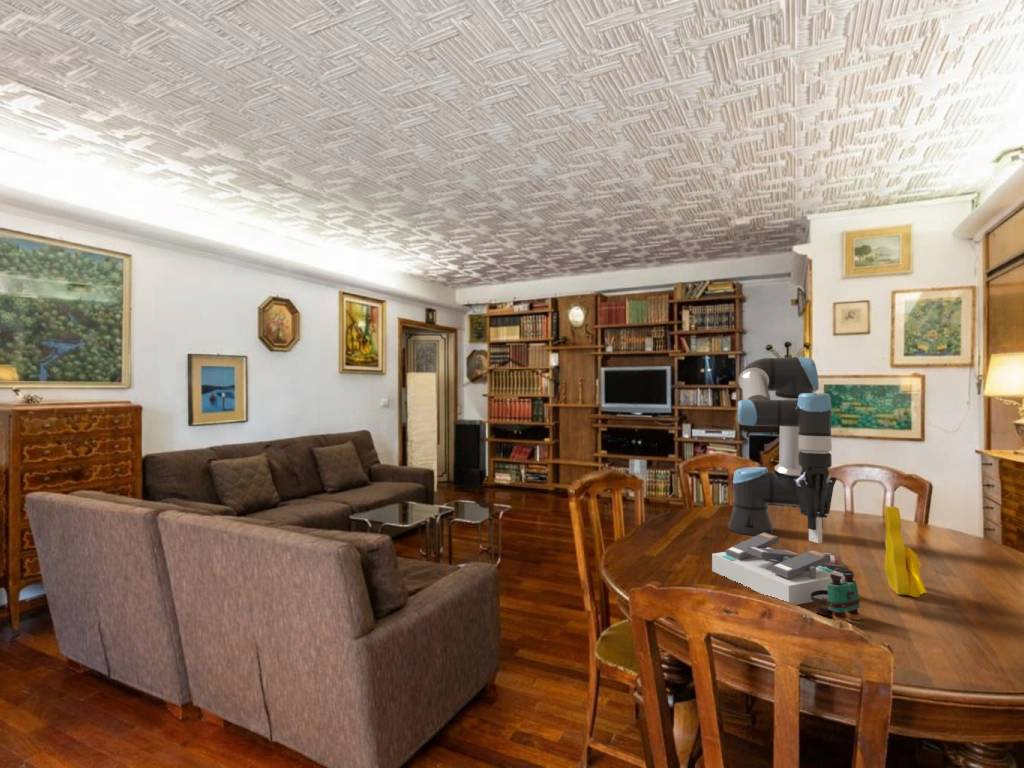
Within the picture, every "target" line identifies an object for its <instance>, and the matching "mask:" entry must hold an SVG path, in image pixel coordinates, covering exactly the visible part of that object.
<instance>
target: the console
mask: <svg viewBox="0 0 1024 768" xmlns="http://www.w3.org/2000/svg"><path fill="white" fill-rule="evenodd" d="M744 541H745V540H743V541H740V543H741V542H744ZM766 549H772V548H771V547H767V548H766ZM711 558H712V559H711V571H712V572H714V573H716V574H718V575H720V576H722V577H724V576H725V577H724V578H726V577H727V579H729V580H731V581H733V582H735V581H736V583H737V582H738V584H739V583H741V584H743V585H742V586H744V587H746V586H747V587H746V588H748V587H750V588H751V590H752V591H755V592H757V593H758V594H761V595H763V594H764V596H765V595H768V596H772V597H775V598H778V599H780V600H784V601H787V602H790V603H793V604H796V605H795V606H799V605H803V604H808V603H813V602H814V601H812V600H811V593H812V592H814V591H819V590H828V584H829V583H832V579H831V576H830V574H833V575H837V576H841V580H840V582H841V581H843V580H845V576H844V575H843V574H842V573H839V572H836V571H834V570H831V569H828V568H825V567H822V566H818V567H814V566H810V567H809V570H808V571H806V572H803V573H801V574H799V575H796V576H794V577H791V578H789V579H788V578H785V577H783V576H780V575H778V574H776V573H773V572H772V569H771V566H772V565H775V564H777V563H780V562H783V561H785V560H788V559H790V558H789V557H786V556H785V557H782V560H775V559H762V558H759V557H756V556H754V555H750V556H748V557H746V558H744V559H742V560H737V559H735V558H732V557H730V556H727V555H726V551H721V552H715V553H714V552H713V553H712V554H711ZM741 584H740V585H741ZM750 588H749V589H750ZM822 597H824V598H826V599H827V600H828V595H824V594H823V595H816V596H814V598H818V599H822ZM824 598H823V599H824ZM826 599H824V600H826ZM814 603H815V602H814Z"/></svg>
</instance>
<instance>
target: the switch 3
mask: <svg viewBox="0 0 1024 768" xmlns="http://www.w3.org/2000/svg"><path fill="white" fill-rule="evenodd" d="M825 553H826V552H821V551H818V550H814V549H811V550H810V549H809V550H808V551H806V552H803V553H799V554H800V555H798V556H795V557H793V558H790V559H788V560H785V561H783V562H780V563H777V564H775V565H772V566H771V569H772V572H773V573H776V574H778V575H780V576H783V577H785V578H788V579H789V578H791V577H794V576H796V575H799V574H801V573H803V572H806V571H808V570H809V567H810V566H814V567H818V566H820V565H823V564H825V563H828V562H830V561H831V559H830V555H828V554H825Z"/></svg>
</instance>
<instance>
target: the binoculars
mask: <svg viewBox="0 0 1024 768" xmlns="http://www.w3.org/2000/svg"><path fill="white" fill-rule="evenodd" d="M843 575H844V576H845V580H843V581H841V582H840V580H841V576H837V575H833V574H830V576H831V579H832V583H829V584H828V590H819V591H814V592H812V593H811V600H812V601H814V603H817V604H821V605H822V606H815V613H817V614H821V615H824V616H825V615H827V616H830V617H832V619H833V620H834V619H836V620H842V621H847V622H848V618H849V619H851V620H855V621H860V620H861V614H860V613H859V610H858V609H859V608H861V606H860V604H861V599H860V596H859V591H858V584H857V581H856V580H854V576H855V575H854V571H853V570H850V569H849V570H847V569H846V571H844V572H843ZM823 594H824V595H828V599H826V598H824V597H822V599H818V598H814V596H816V595H823ZM823 598H824V599H823ZM825 600H826V601H825ZM825 604H826V605H825Z"/></svg>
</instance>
